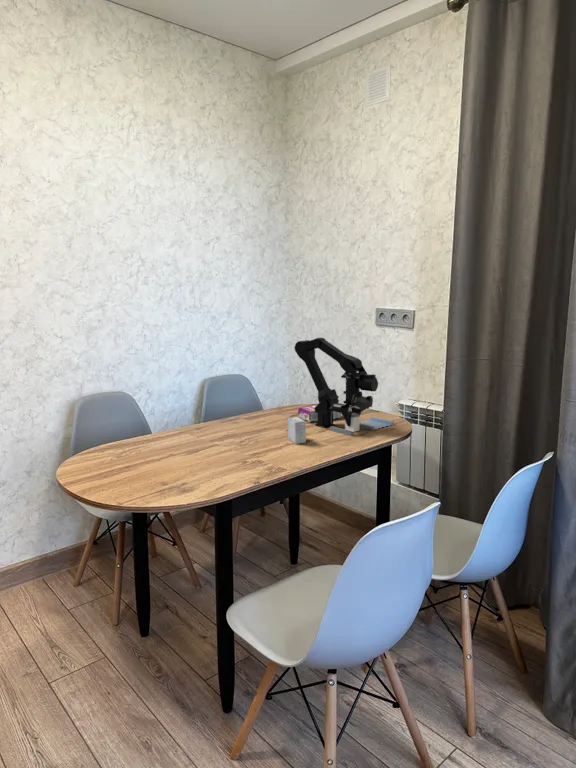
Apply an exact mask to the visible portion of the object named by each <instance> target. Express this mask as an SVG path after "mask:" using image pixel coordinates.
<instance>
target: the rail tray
mask: <svg viewBox="0 0 576 768" xmlns="http://www.w3.org/2000/svg"><path fill="white" fill-rule="evenodd" d="M394 424H395V421H393V420H389V419H383V418H379V417H375V416H371V417H370V419H369V420H365V421H361V422H360V425H359V429H360V428H361V429H364V430H368V429H369V430H368V431H375V430H374V429H376V430H379V429H378V428H380V429H383V428H382V427H384V428H387V427H386V426H388V427H391V426H394ZM390 425H391V426H390ZM329 431H331V432H334V433H335V432H336V433H339V434H343V435H346V436H349V437H352V436H354V432H353V431H349V430H345V428H340V427H336V426H331V427H329Z"/></svg>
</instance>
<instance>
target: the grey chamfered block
mask: <svg viewBox="0 0 576 768" xmlns="http://www.w3.org/2000/svg"><path fill="white" fill-rule="evenodd" d="M360 417H361V414H357V413H352V414H351V425H350V427H349V426H347V423H346V421H345V420H344V429H345V430H349V431H353V433H355V432H358V431H360V427H359V425H360V421H361V420H360V419H361V418H360Z"/></svg>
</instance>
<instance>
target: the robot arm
mask: <svg viewBox="0 0 576 768" xmlns="http://www.w3.org/2000/svg"><path fill="white" fill-rule="evenodd" d="M316 349H319V350H320V351H322V352H323V353H325V354H326V355H328V356H329V357H330V358H331V359H332V360H334V361H336V362H337V363H338V365H340V368H341V369H342V370H343V371H344V373H343V374H342V375H341V376H340V377H341V379H342V378H343V379H345V390H343V394H344V395H345V400H343V403H341V402H340V400H339V396H338V394H337V391H336V389H334V388H333V389H331V388H330V387H329V386H328V383H327V381H326V379H325V376H324V374H323V372H322V370H321V368H320V366H319V363H318V361H317V358H316ZM294 351H295V353H296V355H297V357H298V358H300V359H301V361H303V362H304V364H305V365H306V368H307V370H308V372H309V374H310V377H311V379H312V382H313V383H314V386H315V388H316V390H317V400H318V404H317V405H315V406H316V407H315V408H314V409H315V412H316V413H318V421H317V422H316V423H315V424H314V425H315V426H317V427H321V428H325V429H326V428H330V427H331V426H334V427H336V423H334V419H333V411H335V412H339V413H341V416H342V417H343V419H344V422H345V421H346V423H347V426H349V427H350V425H351V414H352V413H357V414H360V415H361V414H362V413H363V412H364V411H366V410H367V409H370V408H372V407H373V403H374V402H373V401H374V400H373V399H374V398H373V396H372V395H367V396H363V391H367V392H376V391H378V390H377V389H378V387H379V381H378V378H377V376H376V375H377V374H373V373H372V374H370V373H369V374H368V372H367V371H366V369H365V367H364V366H363V363H362V360H361V359H359V358H358V357H356V356H353V355H350V354H347V353H345V352H343V351H342V350H340V349H339V348H338V347H336V346H334V345H333V344H332V343H331V342H329V341H328V340H326V339H325V338H324V337H316V338H314V339H311V340H309V339H308V340H307V339H305V340H300V341H299V340H298V341H297V342H296V343H295V345H294ZM339 402H340V403H339Z"/></svg>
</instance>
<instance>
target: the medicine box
mask: <svg viewBox="0 0 576 768" xmlns="http://www.w3.org/2000/svg"><path fill="white" fill-rule="evenodd" d="M306 431H307V430H306V420H303V419H301V418H299V417H298V416H296V417H289V418H287V439H288V440H289V441H290V442H292V443H293V444H295V445H298V444H299V445H300V443H301V444H306V443H307V441H306V440H307V437H306V435H307V434H306V433H307V432H306Z"/></svg>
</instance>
